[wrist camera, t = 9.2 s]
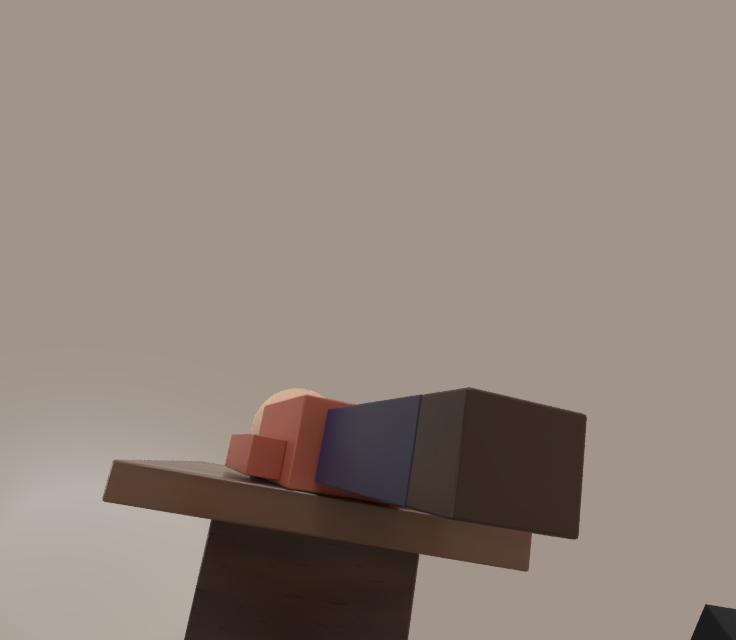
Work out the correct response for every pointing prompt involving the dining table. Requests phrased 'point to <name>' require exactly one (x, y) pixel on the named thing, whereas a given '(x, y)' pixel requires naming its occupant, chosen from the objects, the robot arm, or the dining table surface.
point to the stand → (303, 553)
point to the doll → (426, 455)
